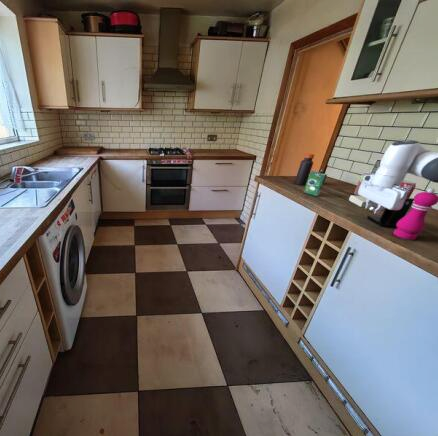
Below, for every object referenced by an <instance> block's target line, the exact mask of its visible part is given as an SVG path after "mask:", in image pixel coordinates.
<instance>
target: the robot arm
mask: <svg viewBox="0 0 438 436" xmlns="http://www.w3.org/2000/svg"><path fill="white" fill-rule="evenodd" d="M374 174H375V175H365V176H364V178H363V180H364V181H363V182H362V183H361V185H360V187H359V190H358V194H359V195H361V196H363V197H365V198H367V200H366V205H367V206H366V207H364V208H365V210H367V211H368V208H369V207H370V206H372V202H375V203H377V204H378V208H377V209H374V210H373V213H372V214H374V215H380V214H381V212H382V211H384V210H385V208H387V209H389V210H400V209H401V208H402V206H403V204H404V202H405V199H406V194H407V192H406V190H405V188H404V187H401V184H402V182H403V180H405V178H406V177H407V174H410V175H413V176H415V177H419V178H423V179H425V180H427V181H430V182H432V183H436V184H438V151H434V150H430V149H429V148H426V147H424V146H423V145H422V144H421V143H420V141H418V140H411V139H410V140H409V139H407V140H406V139H404V140H397V141H394V142H392V143H391V144H389V146H388V147H387V149H386V151H385V152H384V154H383V156H382V158H381V160H380V162H379V167H378V169H377V170H376V171H375V173H374ZM359 195H358V196H359Z"/></svg>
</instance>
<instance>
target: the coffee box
mask: <svg viewBox="0 0 438 436" xmlns="http://www.w3.org/2000/svg"><path fill="white" fill-rule="evenodd" d="M327 176H328V174H326V173H322V172H318V171H315V170H314V171H312V170H311V171H310V174H309V177H308V180H307V183H306V185H304V186H305V187H304V189H303V193H304V194H308V195H309V196H310V195H311V196H314V197H319V196H320V194H321V191H322V189H323V186H324V183H325V182H326V179H327Z"/></svg>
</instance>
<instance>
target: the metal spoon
mask: <svg viewBox="0 0 438 436" xmlns="http://www.w3.org/2000/svg"><path fill="white" fill-rule="evenodd" d="M377 208H378V206H370V207H369V208H368V210H367V211H368V212H369V213H372V214H374V213H373V210H374V209H377Z"/></svg>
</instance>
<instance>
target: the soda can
mask: <svg viewBox="0 0 438 436" xmlns="http://www.w3.org/2000/svg"><path fill="white" fill-rule="evenodd" d="M416 186H417V182H416V181H411V180H405V179H404V180H403V182H402V184H401V187H404V188H405V190H406V192H407V194H406V198H411V196H412V194H413V192H414V191H415V188H416Z"/></svg>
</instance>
